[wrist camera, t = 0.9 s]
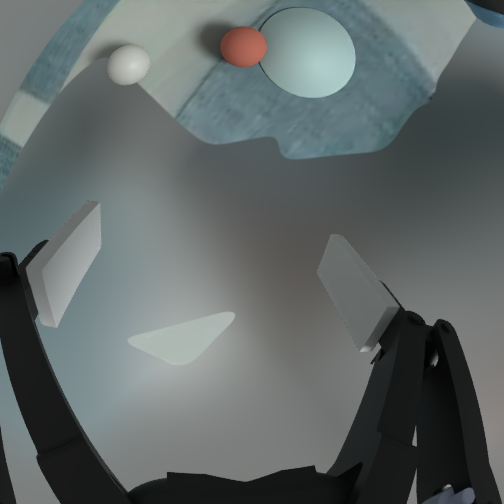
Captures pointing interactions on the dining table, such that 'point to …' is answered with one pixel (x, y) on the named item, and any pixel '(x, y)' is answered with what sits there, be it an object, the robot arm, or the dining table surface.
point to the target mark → (307, 52)
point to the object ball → (243, 46)
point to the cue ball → (128, 64)
